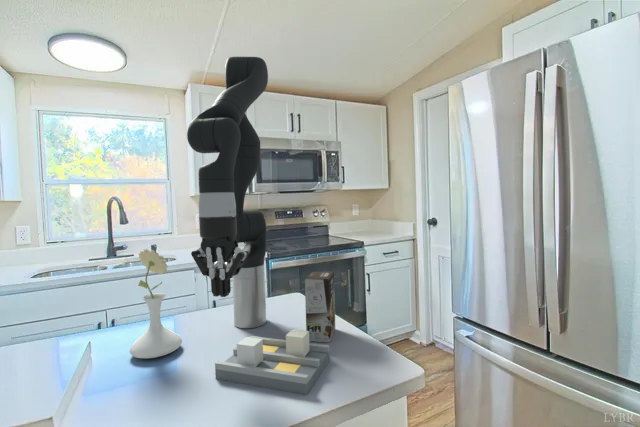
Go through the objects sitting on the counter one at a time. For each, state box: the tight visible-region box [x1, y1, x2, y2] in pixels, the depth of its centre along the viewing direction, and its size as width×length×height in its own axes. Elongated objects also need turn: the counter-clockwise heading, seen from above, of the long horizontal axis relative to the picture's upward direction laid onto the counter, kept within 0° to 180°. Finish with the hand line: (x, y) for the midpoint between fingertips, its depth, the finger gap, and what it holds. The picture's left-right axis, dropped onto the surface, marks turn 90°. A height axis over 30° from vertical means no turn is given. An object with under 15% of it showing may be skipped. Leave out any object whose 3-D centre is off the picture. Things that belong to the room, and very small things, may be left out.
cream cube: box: [285, 328, 310, 357], centre depth 73 cm, size 4×4×4 cm
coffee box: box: [304, 271, 336, 343], centre depth 88 cm, size 9×6×16 cm
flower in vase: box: [129, 248, 183, 359], centre depth 81 cm, size 13×11×25 cm
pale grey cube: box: [236, 336, 263, 367], centre depth 70 cm, size 4×4×4 cm
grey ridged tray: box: [214, 335, 331, 396], centre depth 72 cm, size 20×14×3 cm
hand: (221, 295), depth 71 cm, fingers closed
